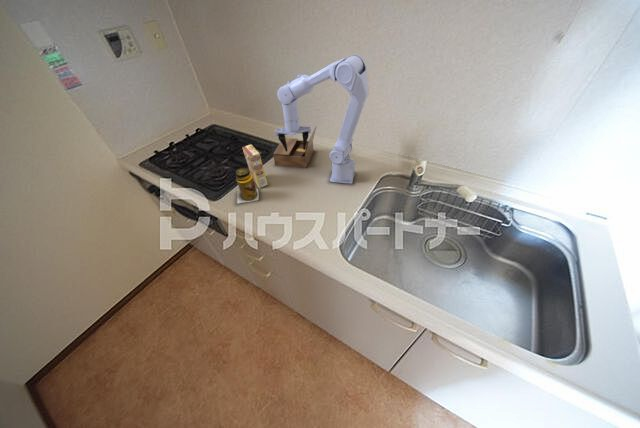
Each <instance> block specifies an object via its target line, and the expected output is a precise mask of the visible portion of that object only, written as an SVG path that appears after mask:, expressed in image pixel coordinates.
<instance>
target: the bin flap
mask: <svg viewBox="0 0 640 428" xmlns="http://www.w3.org/2000/svg"><path fill="white" fill-rule="evenodd" d="M316 130H317V126H315V127H314V129H313V131H312V132H311V134H310V136H309V138H308V140H307V141H308V145H307V149H306V153H305V156H306V154H307V152H308V150H309V148H310V145H311V143H312V141H313V142H314V137H315V134H316Z"/></svg>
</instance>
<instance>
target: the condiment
mask: <svg viewBox="0 0 640 428" xmlns="http://www.w3.org/2000/svg"><path fill="white" fill-rule="evenodd" d="M234 174H235V178H236V179H235V181H236V183H237V186H238V190H239V191H237V195H236V197H237V199H236V204H244V203H250V202H256V201H259V200H260V196H259V188H257V187H256V185H255V184H256V183H255V182H254V180H253V177H252V175H251V173H250V170H249V168H248V167H241V168H238V169H237V170H235V173H234Z"/></svg>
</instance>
